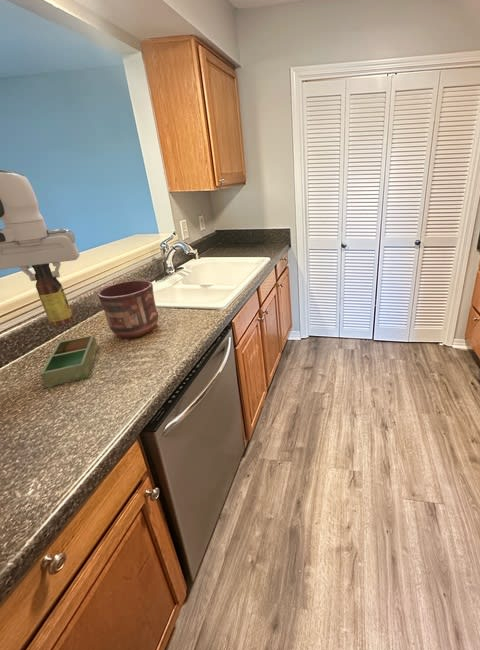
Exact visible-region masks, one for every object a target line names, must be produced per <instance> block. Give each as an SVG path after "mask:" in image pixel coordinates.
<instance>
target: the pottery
mask: <svg viewBox="0 0 480 650" xmlns="http://www.w3.org/2000/svg"><path fill="white" fill-rule="evenodd" d="M97 296H98V299H99V301H100V305H101V306H102V309H103V312H104V314H105V317H106V321H107V324H108V327H109V329H110V331H111V332H112V333H113V334H114V335H115V336H117V337H119V338H121V339H124V340H135V339H139V338H142V337H145V336H148V335H149V334H150V333H151V332H153V331H154V329H155V328H156V327H157V325H158V322H159V317H160V316H159V311H158V308H157V305H156V299H155V295H154V285H153V283H152V281H149V280H145V279H135V280H127V281H121V282H117V283H113V284H111V285H108V286H106V287H104V288H102V289H100V290H99V291H98V293H97Z"/></svg>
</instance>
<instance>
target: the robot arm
mask: <svg viewBox="0 0 480 650" xmlns="http://www.w3.org/2000/svg"><path fill="white" fill-rule="evenodd" d="M0 221H2V223H3V225H4V228H1V229H0V270H6V269H7V270H8V269H15V268H16V269H17V268H20V270H21V272H23V273H24V274H25V275H27V277H28V278H29V280H30V282H37V279H38V278H37V277H36V273H35V272H34V273H33V272H32V271H31V270H30V267H32V266H33V265H38V264H49V265H50V264H52V267H55V268H54V270H51V274H52V275H53V276H52V277H53V278H56V279H59V278H60V277H61V274H60V268H61V265H62V264H61V263H63V262H73V261H77V260H78V259H79V258H80V252H79V249H78V246H77V245H76V243H75V242H76V238H75V235H74V233H73V231H71V230H69V229H66V228H59V229H48V227H47V224H46V221H45V219H44V217H43V215H42V214H41V212H40V210H39V201H38V199H37V196H36V194H35V191H34V188H33V186H32V185H31V183H30V181H29V179H28V178H27V177H26V176H25V175H24V174H22V173H20V172H18V171H14V170H6V169H0Z"/></svg>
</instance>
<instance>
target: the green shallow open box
mask: <svg viewBox="0 0 480 650" xmlns="http://www.w3.org/2000/svg"><path fill="white" fill-rule="evenodd" d="M98 347H99V345H98V342H97V340H96V336H95V334H91V335H86V336H81V337H76V338H71V339H67V340H66V339H65V340H62V341H58V342H57V344H56V346H55V347H54V348H53V350H52V352H51V354H50V356H49V358H48V359H47V360H46V362H45V365H44V366H43V368H42V370H41V371H40V377H41V379H42V382H43V384H44V386H45V388H51V387H55V386H59V385H64V384H69V383H71V382H72V383H73V382H77V381H81V380H85V379H88V378H89V376H90V373H91V370H92V367H93V363H94V361H95V358H96V354H97V351H98Z"/></svg>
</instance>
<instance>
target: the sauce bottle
mask: <svg viewBox="0 0 480 650" xmlns="http://www.w3.org/2000/svg"><path fill="white" fill-rule="evenodd" d="M31 268H32V269H33V271H34V274H35V273H36V277H37V278H38V279H37V280H36V281H35V288H36V289H35V290H36V291H37V293H38V297H39V300H40V302H41V305H42V307H43V309H44V313H45V315H46V317H47V320H48V322H49V323H50V325H51V326H52V327H62V326H66V325H68V324H70V323H72V322H73V321H74V317H73V312H72V309H71V306H70V304H69V301H68V298H67V295H66V293H65V291H64V288H63V285H62V283H61V282H60V281H59V280H58V278H53V277H52V276H53V275H52V274H51V272H52V270H51V267H50V263H49V264H38V265H33V266H31Z"/></svg>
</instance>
